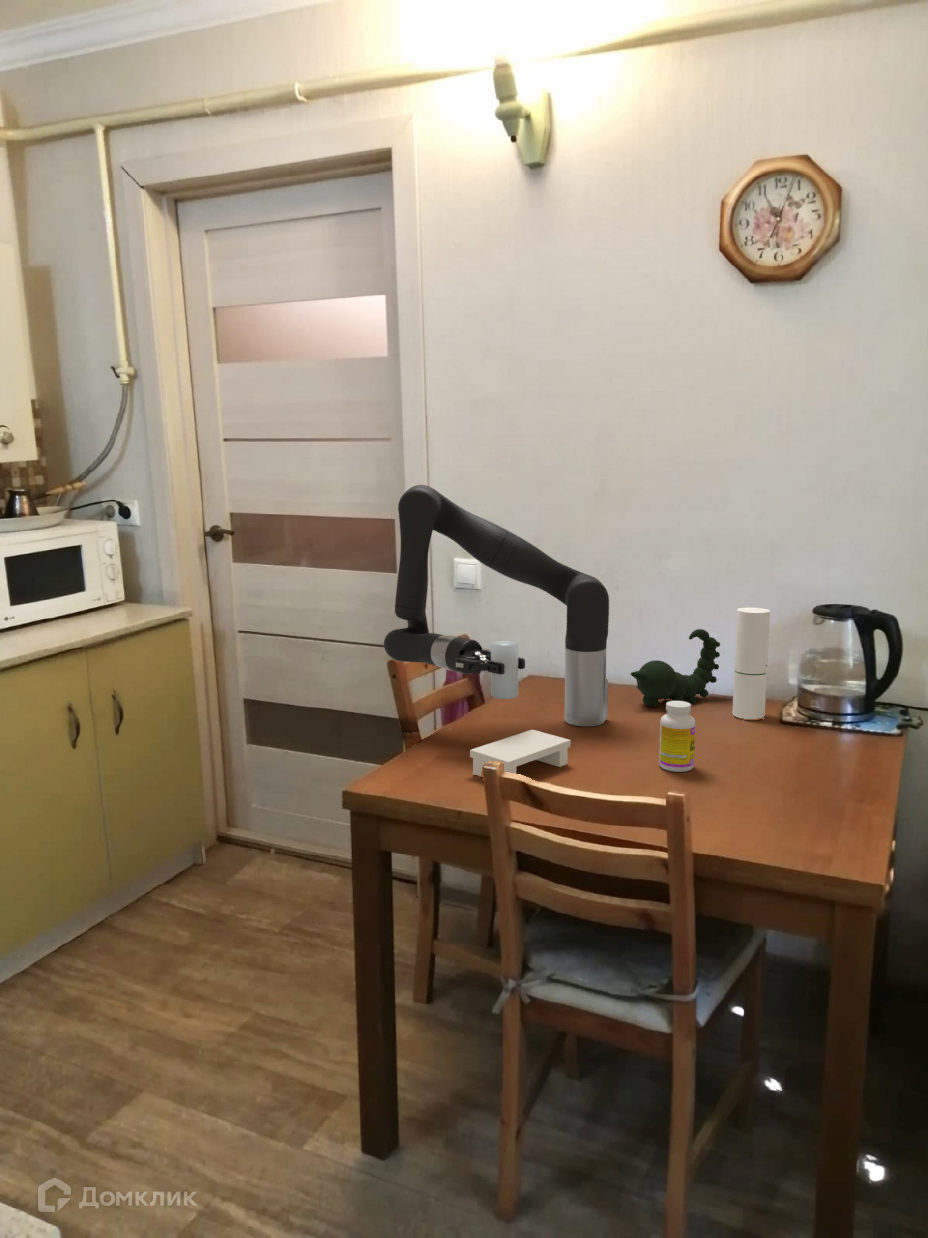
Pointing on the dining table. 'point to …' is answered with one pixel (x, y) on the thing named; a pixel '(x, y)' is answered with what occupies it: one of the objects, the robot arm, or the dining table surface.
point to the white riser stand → (522, 751)
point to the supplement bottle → (677, 737)
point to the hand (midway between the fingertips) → (513, 666)
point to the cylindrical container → (751, 662)
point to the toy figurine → (678, 675)
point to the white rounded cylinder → (505, 670)
